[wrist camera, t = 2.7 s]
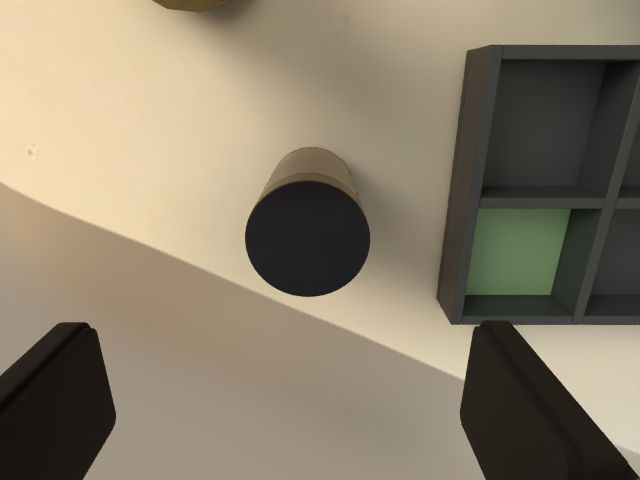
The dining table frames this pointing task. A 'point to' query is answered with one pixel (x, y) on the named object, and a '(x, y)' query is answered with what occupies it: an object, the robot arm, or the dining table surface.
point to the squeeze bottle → (190, 4)
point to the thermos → (308, 225)
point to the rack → (545, 188)
